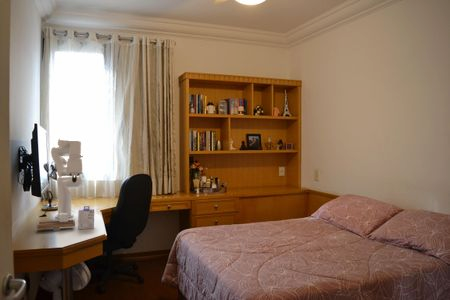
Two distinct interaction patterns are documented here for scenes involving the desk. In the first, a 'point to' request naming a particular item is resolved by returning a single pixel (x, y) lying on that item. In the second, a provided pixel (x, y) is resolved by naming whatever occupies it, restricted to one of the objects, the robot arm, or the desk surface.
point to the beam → (55, 224)
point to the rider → (63, 217)
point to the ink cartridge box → (86, 218)
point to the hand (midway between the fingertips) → (74, 182)
